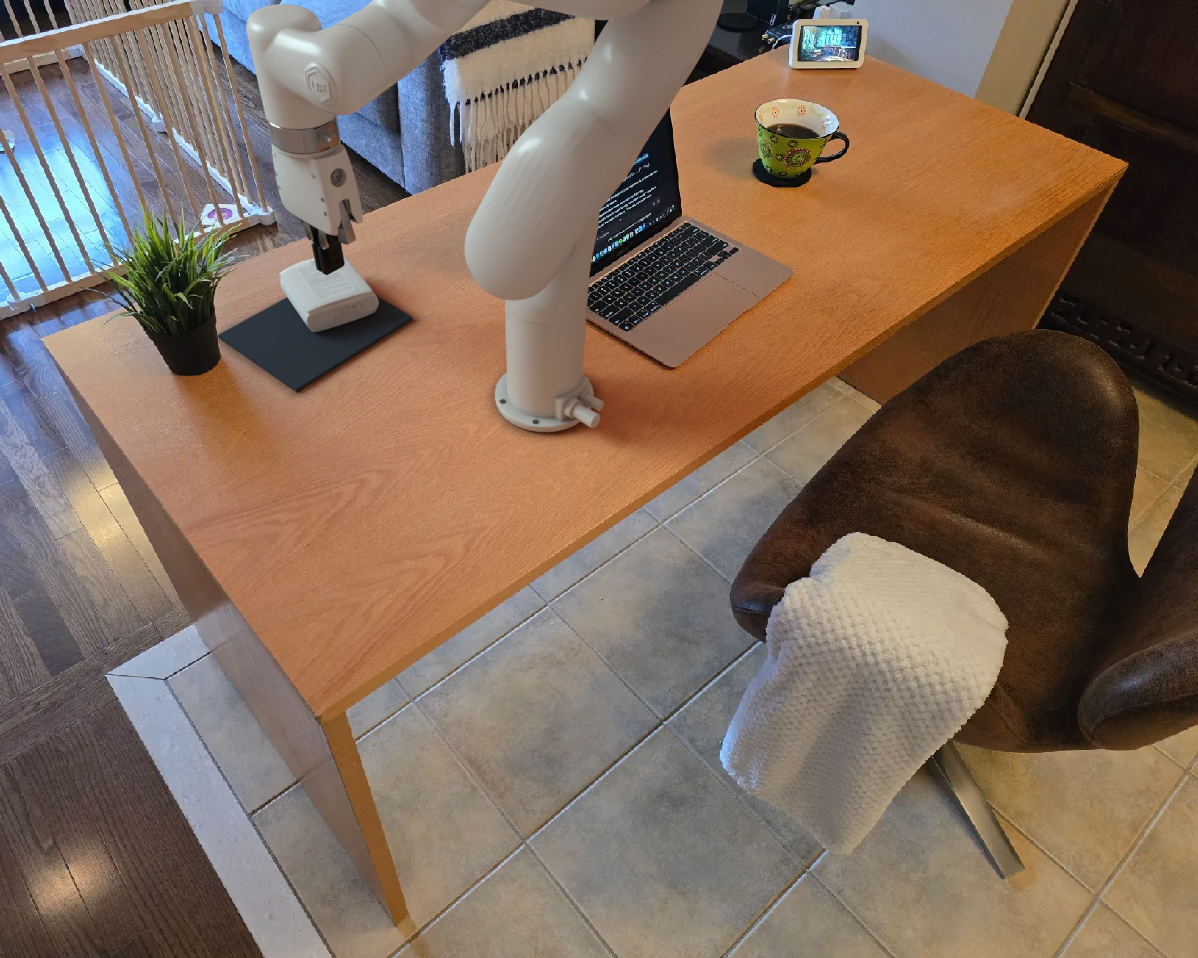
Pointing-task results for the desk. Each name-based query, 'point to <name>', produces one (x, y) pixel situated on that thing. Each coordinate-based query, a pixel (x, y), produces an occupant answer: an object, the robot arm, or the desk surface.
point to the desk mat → (308, 341)
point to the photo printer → (327, 294)
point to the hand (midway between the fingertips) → (331, 268)
